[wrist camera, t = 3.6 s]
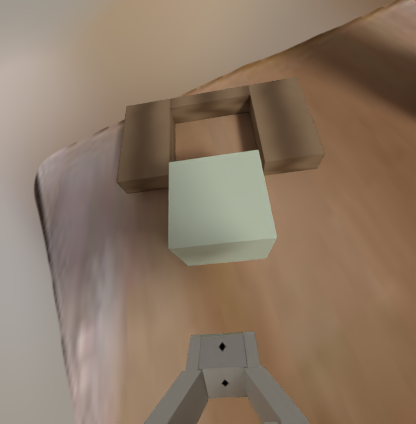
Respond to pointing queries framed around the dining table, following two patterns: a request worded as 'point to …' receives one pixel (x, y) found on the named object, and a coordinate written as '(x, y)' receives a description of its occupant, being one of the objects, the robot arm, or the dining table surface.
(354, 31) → the dining table surface
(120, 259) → the dining table surface
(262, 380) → the robot arm
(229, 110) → the dock block
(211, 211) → the sage block
